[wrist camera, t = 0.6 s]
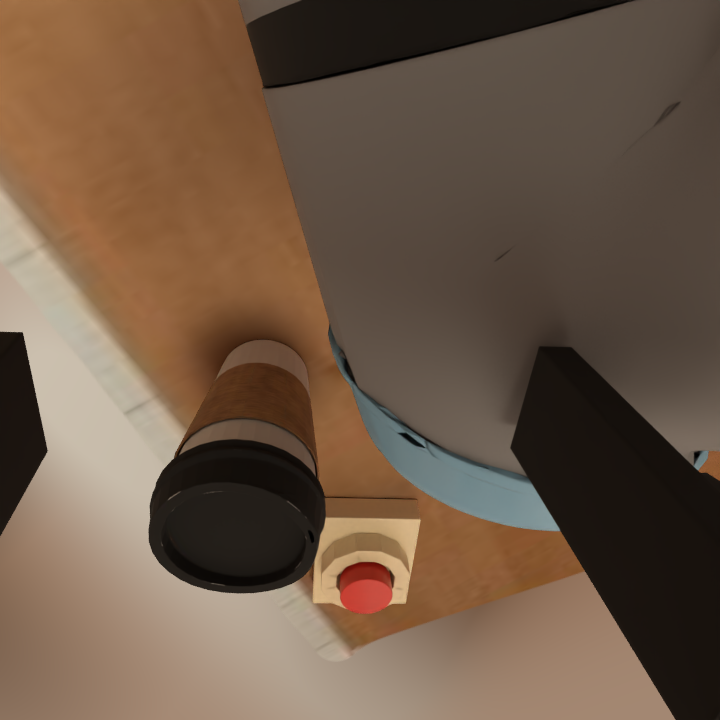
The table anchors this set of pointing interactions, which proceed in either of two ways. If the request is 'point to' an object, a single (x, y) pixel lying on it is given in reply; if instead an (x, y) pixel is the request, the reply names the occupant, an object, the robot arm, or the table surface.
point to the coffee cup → (244, 480)
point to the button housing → (366, 543)
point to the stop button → (365, 587)
